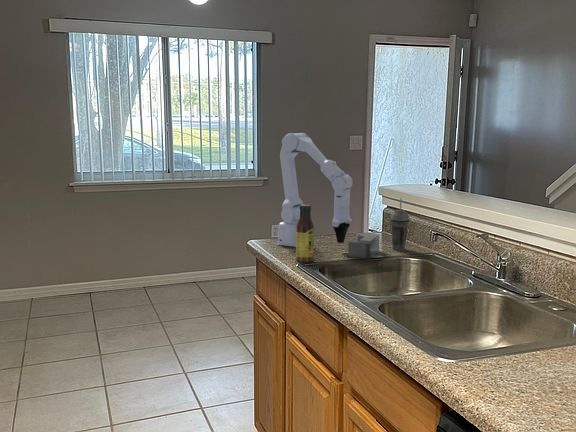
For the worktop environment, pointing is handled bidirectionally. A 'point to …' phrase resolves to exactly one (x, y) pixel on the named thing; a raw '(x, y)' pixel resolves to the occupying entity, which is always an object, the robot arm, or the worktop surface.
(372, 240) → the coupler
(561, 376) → the worktop surface
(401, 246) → the beverage cup
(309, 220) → the sauce bottle
